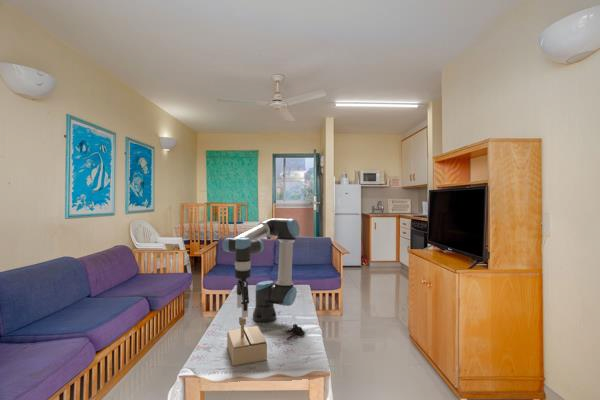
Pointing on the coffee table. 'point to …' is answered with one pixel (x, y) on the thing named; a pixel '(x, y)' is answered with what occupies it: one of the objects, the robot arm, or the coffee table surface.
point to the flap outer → (239, 335)
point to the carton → (248, 348)
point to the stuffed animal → (295, 331)
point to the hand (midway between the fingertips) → (242, 312)
